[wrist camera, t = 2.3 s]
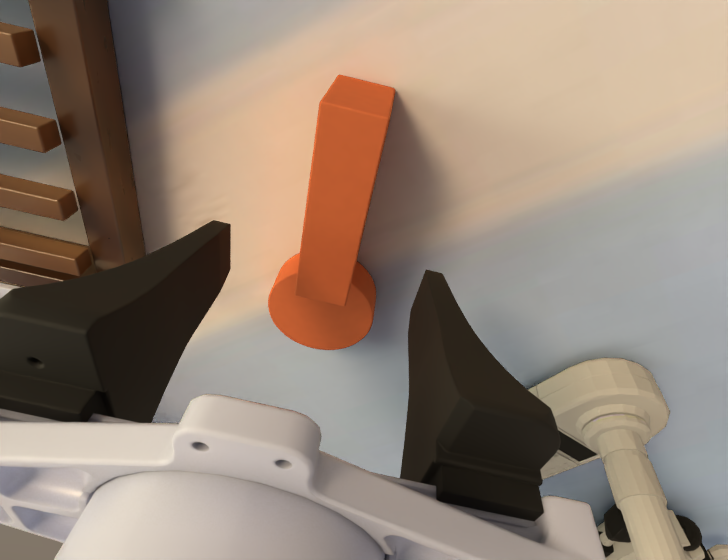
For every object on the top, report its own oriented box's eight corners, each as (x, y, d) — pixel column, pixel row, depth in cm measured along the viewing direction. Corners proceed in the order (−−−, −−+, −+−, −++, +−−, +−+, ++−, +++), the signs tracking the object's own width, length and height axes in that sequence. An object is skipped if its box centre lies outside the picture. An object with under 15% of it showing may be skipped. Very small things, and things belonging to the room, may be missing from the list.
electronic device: (414, 610, 23) (704, 550, 14) (418, 441, 30) (609, 335, 22) (485, 636, 24) (785, 596, 16) (473, 469, 32) (671, 381, 23)
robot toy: (620, 455, 29) (471, 533, 37) (653, 523, 26) (479, 594, 33) (724, 516, 33) (568, 576, 40) (765, 583, 29) (585, 636, 37)
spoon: (298, 63, 16) (270, 88, 13) (435, 97, 16) (438, 129, 13) (274, 315, 24) (254, 364, 21) (365, 335, 24) (357, 386, 21)
